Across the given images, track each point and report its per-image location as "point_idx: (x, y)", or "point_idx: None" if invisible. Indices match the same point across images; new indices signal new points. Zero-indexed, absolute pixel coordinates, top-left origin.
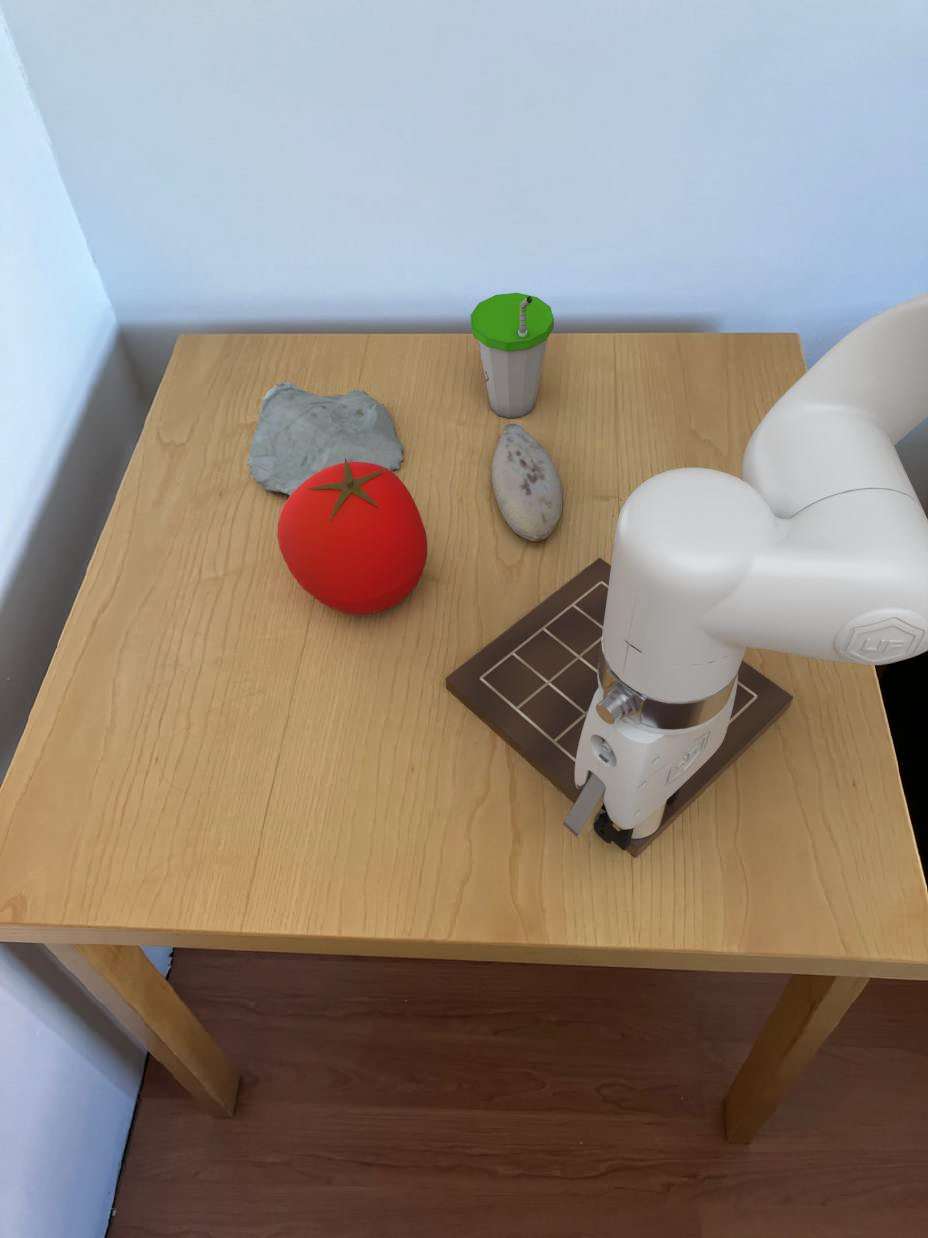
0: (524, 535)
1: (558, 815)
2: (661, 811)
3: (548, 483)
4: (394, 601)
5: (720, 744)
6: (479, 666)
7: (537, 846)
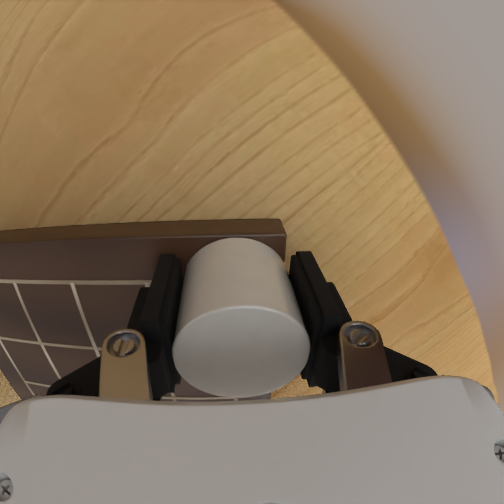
0: None
1: None
2: (236, 283)
3: None
4: None
5: (23, 407)
6: None
7: (351, 312)
